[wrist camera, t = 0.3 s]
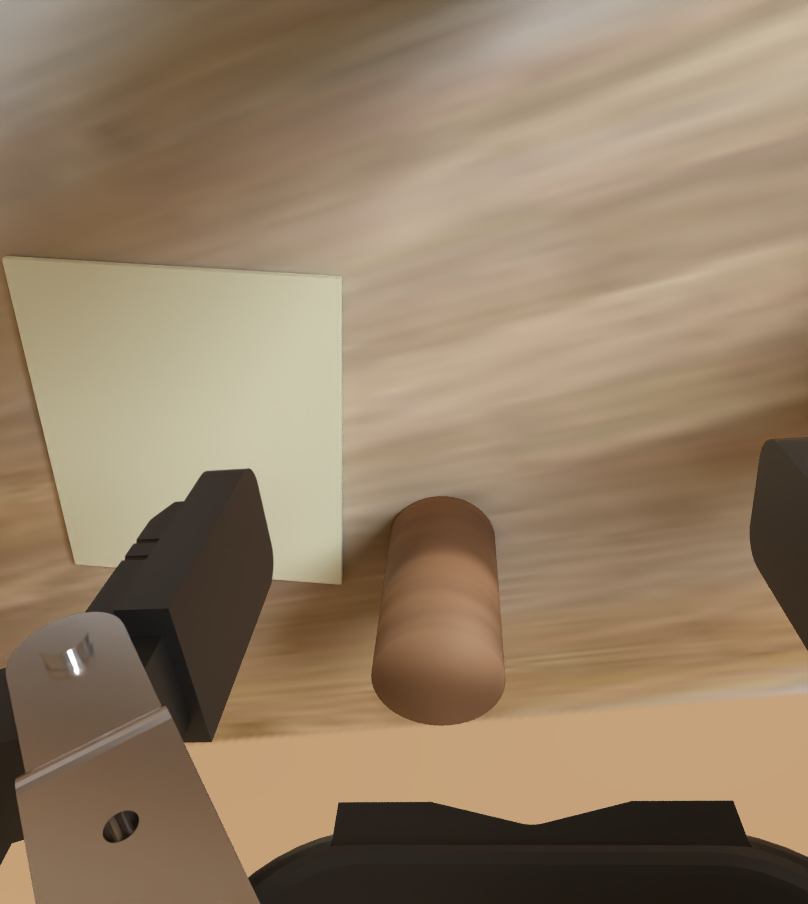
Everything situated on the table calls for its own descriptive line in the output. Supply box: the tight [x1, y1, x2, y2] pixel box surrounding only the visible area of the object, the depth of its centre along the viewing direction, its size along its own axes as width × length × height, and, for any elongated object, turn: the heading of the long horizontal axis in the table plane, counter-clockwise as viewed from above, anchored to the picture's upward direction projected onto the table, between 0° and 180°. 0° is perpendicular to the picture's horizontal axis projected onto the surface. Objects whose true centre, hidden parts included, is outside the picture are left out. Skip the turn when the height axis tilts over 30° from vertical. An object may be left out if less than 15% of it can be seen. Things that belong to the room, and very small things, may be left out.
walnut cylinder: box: [371, 496, 505, 725], centre depth 32 cm, size 5×5×9 cm
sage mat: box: [2, 256, 342, 585], centre depth 33 cm, size 16×14×1 cm
